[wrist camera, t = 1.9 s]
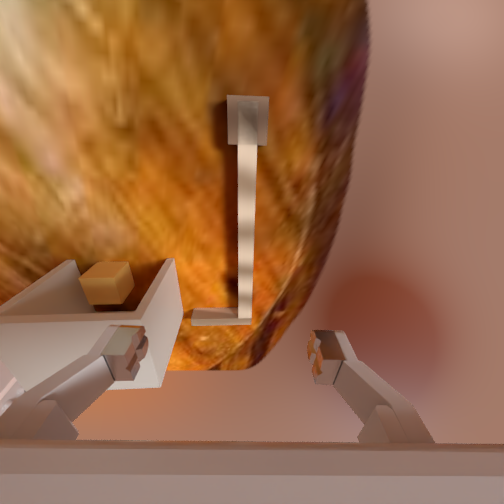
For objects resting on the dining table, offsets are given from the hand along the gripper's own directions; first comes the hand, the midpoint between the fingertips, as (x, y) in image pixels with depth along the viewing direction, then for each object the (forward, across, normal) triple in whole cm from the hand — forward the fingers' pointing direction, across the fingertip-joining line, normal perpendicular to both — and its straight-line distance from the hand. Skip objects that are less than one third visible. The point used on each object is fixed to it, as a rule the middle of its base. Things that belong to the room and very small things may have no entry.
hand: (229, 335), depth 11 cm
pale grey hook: (+25, -3, -6) cm, 26 cm away
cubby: (+24, -20, -17) cm, 35 cm away
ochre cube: (+24, -21, -14) cm, 35 cm away
